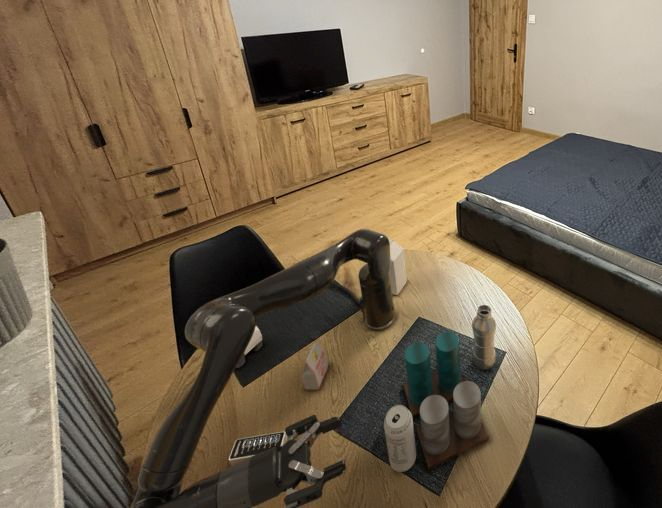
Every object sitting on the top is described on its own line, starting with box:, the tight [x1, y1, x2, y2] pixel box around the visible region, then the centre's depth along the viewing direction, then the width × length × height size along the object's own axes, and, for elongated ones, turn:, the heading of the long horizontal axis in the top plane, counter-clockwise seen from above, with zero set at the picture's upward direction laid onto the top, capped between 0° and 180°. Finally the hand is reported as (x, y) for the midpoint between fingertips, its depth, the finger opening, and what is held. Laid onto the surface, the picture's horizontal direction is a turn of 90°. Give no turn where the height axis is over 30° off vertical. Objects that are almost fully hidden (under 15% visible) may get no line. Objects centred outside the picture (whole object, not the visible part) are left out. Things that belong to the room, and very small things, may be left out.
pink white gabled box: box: [300, 340, 329, 391], centre depth 100 cm, size 4×7×10 cm, turn 178°
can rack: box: [402, 331, 464, 419], centre depth 95 cm, size 15×9×16 cm, turn 114°
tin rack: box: [416, 380, 490, 471], centre depth 85 cm, size 15×9×12 cm, turn 114°
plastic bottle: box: [471, 304, 497, 371], centre depth 101 cm, size 6×7×20 cm
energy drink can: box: [383, 404, 417, 473], centre depth 80 cm, size 6×6×15 cm
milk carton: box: [389, 237, 408, 296], centre depth 130 cm, size 7×7×19 cm
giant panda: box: [235, 323, 263, 369], centre depth 105 cm, size 15×6×10 cm, turn 157°
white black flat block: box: [228, 430, 287, 466], centre depth 84 cm, size 4×11×2 cm, turn 99°
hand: (342, 441), depth 73 cm, fingers open, 8 cm apart
